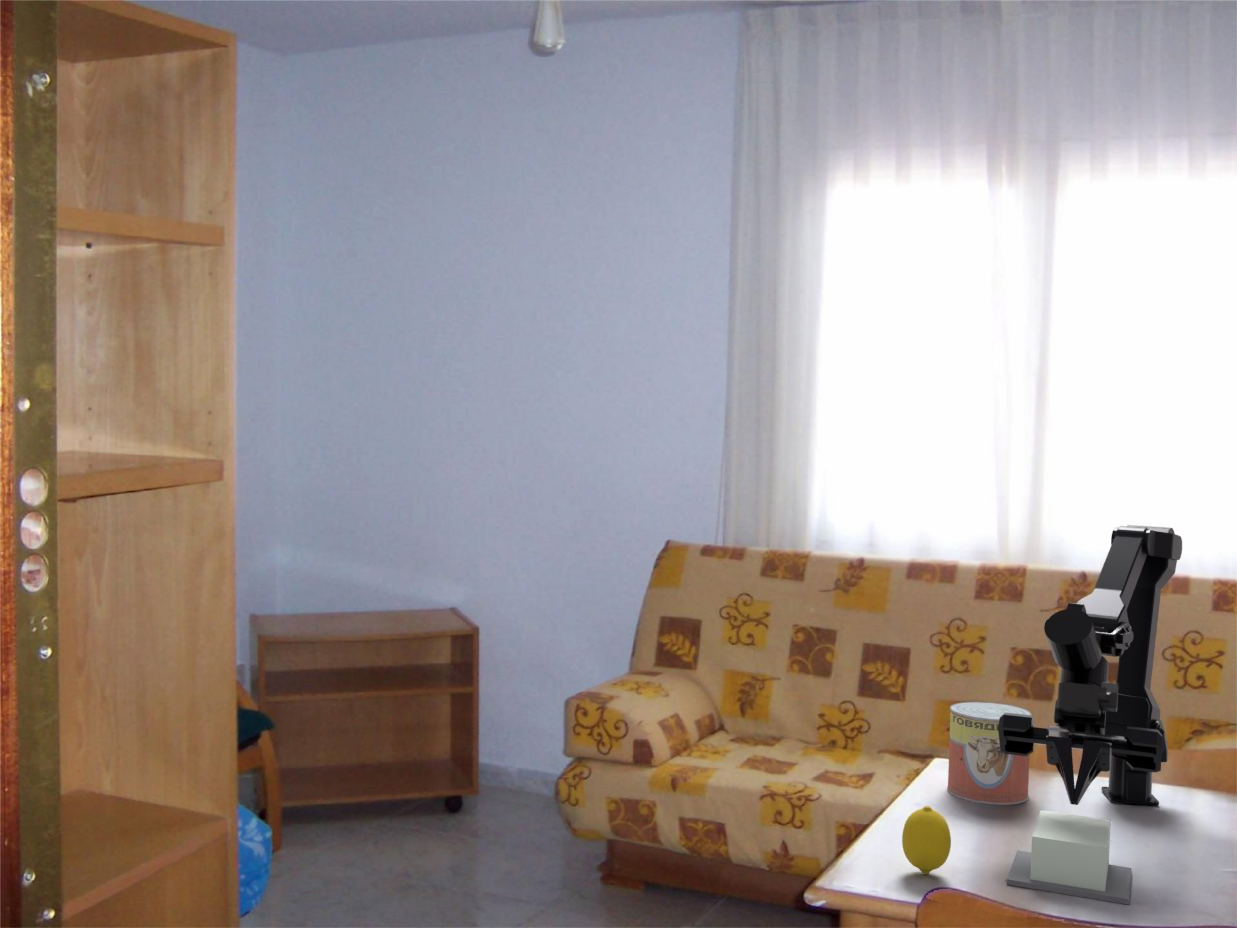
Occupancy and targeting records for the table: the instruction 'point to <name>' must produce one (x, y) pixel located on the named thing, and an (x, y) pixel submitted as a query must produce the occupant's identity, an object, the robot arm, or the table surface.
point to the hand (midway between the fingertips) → (1073, 802)
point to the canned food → (984, 756)
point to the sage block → (1070, 850)
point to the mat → (1113, 892)
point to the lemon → (926, 839)
